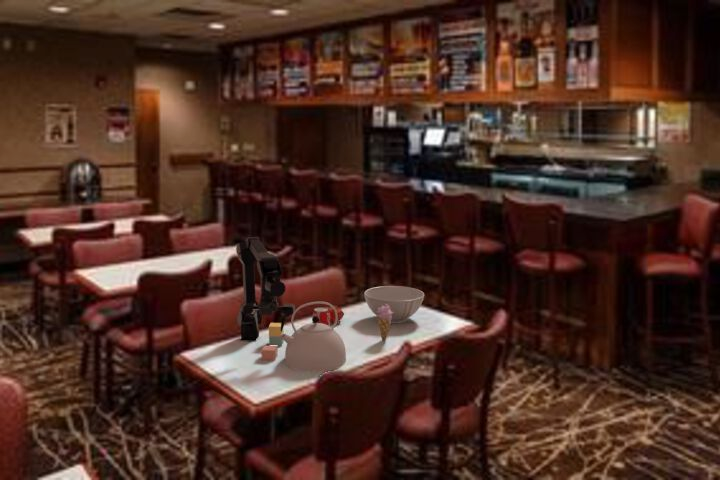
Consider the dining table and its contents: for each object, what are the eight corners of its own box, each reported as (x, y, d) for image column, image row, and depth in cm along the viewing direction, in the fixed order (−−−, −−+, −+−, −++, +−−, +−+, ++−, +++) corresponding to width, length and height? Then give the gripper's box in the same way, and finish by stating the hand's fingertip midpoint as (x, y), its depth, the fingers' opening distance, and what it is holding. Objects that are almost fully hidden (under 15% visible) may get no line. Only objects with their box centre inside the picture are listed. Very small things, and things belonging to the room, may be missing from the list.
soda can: (327, 340, 274) (327, 312, 272) (310, 339, 275) (310, 311, 273) (331, 335, 281) (331, 307, 279) (315, 334, 282) (315, 306, 280)
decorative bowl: (426, 328, 291) (426, 301, 289) (363, 327, 292) (363, 300, 289) (421, 311, 318) (421, 286, 316) (364, 310, 318) (364, 285, 316)
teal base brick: (269, 346, 267) (269, 336, 267) (271, 342, 272) (270, 332, 272) (281, 346, 267) (281, 336, 267) (283, 342, 272) (283, 332, 272)
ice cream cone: (395, 339, 277) (395, 303, 274) (389, 343, 271) (389, 307, 268) (380, 337, 279) (380, 301, 277) (374, 341, 274) (374, 305, 271)
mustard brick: (268, 336, 267) (268, 326, 266) (270, 332, 272) (270, 322, 271) (281, 336, 267) (281, 326, 266) (283, 332, 272) (283, 323, 271)
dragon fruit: (318, 328, 296) (341, 327, 302) (327, 320, 290) (350, 320, 296) (314, 309, 299) (337, 310, 306) (323, 302, 293) (347, 302, 300)
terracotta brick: (261, 360, 252) (261, 350, 251) (264, 355, 257) (264, 345, 256) (274, 360, 252) (274, 350, 251) (277, 356, 256) (277, 346, 256)
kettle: (289, 376, 236) (289, 313, 233) (271, 355, 257) (270, 297, 253) (355, 366, 246) (356, 306, 242) (332, 347, 267) (333, 291, 263)
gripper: (238, 295, 242) (239, 337, 245) (290, 296, 241) (291, 338, 244) (245, 287, 253) (246, 327, 256) (295, 288, 252) (295, 329, 255)
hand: (269, 331), depth 252 cm, fingers open, 9 cm apart
